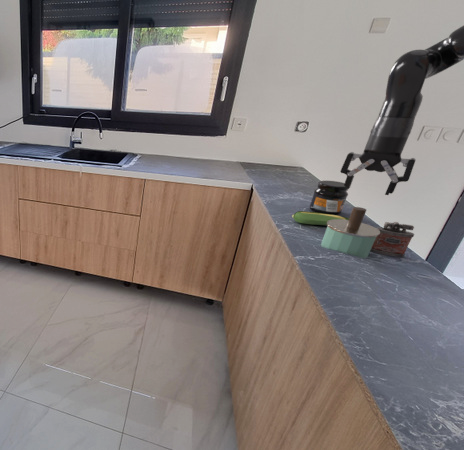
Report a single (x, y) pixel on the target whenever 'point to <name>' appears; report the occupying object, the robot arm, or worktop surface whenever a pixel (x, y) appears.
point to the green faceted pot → (347, 243)
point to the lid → (354, 225)
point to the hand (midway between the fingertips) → (366, 191)
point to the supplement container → (329, 197)
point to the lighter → (393, 239)
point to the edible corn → (314, 218)
